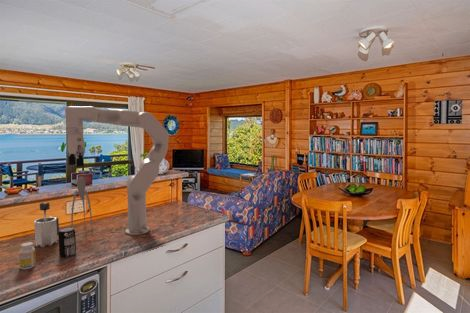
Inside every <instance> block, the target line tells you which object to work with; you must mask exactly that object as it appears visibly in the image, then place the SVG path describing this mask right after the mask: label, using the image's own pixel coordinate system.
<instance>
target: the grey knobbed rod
mask: <svg viewBox="0 0 470 313" xmlns="http://www.w3.org/2000/svg"><path fill="white" fill-rule="evenodd" d="M50 209H51V208H50V202H48V201H47V202H41V203H39V211H43V218H44V222H47V220H46V217H47V211H48V210H50Z"/></svg>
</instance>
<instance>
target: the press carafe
mask: <svg viewBox="0 0 470 313" xmlns="http://www.w3.org/2000/svg"><path fill="white" fill-rule="evenodd" d="M46 220H47V222H44V217H40V218H37V219H35V220H34V221H33V222H34V223H33V225H34V226H33V227H34V243H35V247H36V248H46V247H51V246H54V245H56V244H58V233H59V230H60V222H59V221H60V220H59V217H58V216H57V217H56V216H55V217H54V216H46Z"/></svg>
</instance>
